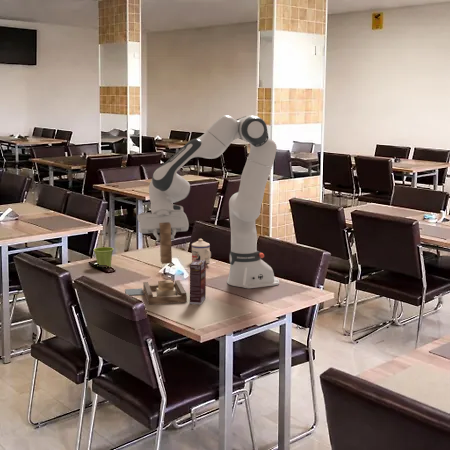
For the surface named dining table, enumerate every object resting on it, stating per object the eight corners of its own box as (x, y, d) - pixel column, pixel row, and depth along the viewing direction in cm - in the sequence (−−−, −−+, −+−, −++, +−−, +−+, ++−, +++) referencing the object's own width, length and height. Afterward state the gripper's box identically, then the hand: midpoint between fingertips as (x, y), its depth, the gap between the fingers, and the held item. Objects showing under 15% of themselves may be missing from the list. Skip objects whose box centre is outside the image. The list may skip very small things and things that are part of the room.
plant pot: (90, 268, 310) (90, 250, 308) (99, 263, 319) (98, 246, 317) (109, 270, 308) (108, 251, 306) (117, 265, 317) (116, 247, 315)
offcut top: (169, 286, 267) (169, 279, 267) (173, 289, 264) (173, 282, 263) (158, 288, 265) (158, 281, 264) (162, 291, 261) (162, 283, 261)
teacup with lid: (187, 262, 323) (187, 238, 321) (202, 259, 329) (202, 236, 326) (202, 266, 314) (202, 242, 312) (217, 263, 320) (217, 240, 317)
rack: (179, 287, 279) (179, 279, 279) (186, 302, 260) (186, 293, 259) (143, 289, 276) (143, 281, 275) (148, 304, 257) (148, 295, 256)
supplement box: (201, 305, 256) (201, 265, 253) (189, 304, 257) (189, 264, 254) (206, 298, 265) (206, 259, 262) (194, 297, 266) (194, 259, 263)
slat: (170, 260, 272) (169, 222, 269) (171, 263, 267) (170, 224, 264) (160, 261, 271) (159, 222, 268) (162, 263, 266) (160, 224, 263)
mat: (142, 289, 277) (142, 288, 277) (143, 294, 269) (143, 293, 269) (125, 290, 275) (125, 289, 275) (126, 295, 268) (126, 294, 268)
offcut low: (173, 296, 268) (173, 286, 267) (175, 300, 263) (175, 290, 262) (156, 297, 266) (156, 287, 266) (158, 301, 262) (158, 291, 261)
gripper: (137, 208, 269) (140, 237, 262) (186, 206, 274) (191, 234, 266) (136, 217, 275) (139, 245, 267) (185, 215, 279) (189, 242, 271)
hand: (165, 239), depth 267 cm, fingers closed on slat, 4 cm apart
